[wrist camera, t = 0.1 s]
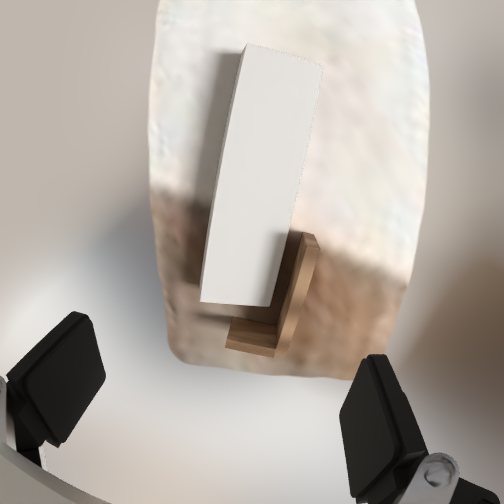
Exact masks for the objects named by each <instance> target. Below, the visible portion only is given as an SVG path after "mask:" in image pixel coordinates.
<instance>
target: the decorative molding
mask: <svg viewBox="0 0 504 504" xmlns="http://www.w3.org/2000/svg"><path fill="white" fill-rule="evenodd" d="M323 67H324V65H322V64H319V63H316V62H313V61H310V60H307V59H304V58H301V57H297V56H294V55H291V54H287V53H284V52H280V51H276V50H273V49H269V48H265V47H261V46H256V45H252V44H246V46H245V48H244V50H243V51H242V54H241V58H240V63H239V67H238V71H237V76H236V80H235V84H234V89H233V94H232V98H231V103H230V108H229V112H228V117H227V122H226V127H225V132H224V137H223V142H222V148H221V153H220V158H219V164H218V169H217V175H216V181H215V186H214V192H213V198H212V204H211V210H210V217H209V223H208V230H207V236H206V243H205V250H204V257H203V264H202V272H201V279H200V287H199V290H200V302H210V303H222V304H236V305H250V306H266V307H270V303H271V299H272V295H273V291H274V288H275V284H276V280H277V276H278V272H279V268H280V264H281V260H282V256H283V252H284V248H285V244H286V239H287V235H288V231H289V227H290V223H291V219H292V214H293V210H294V206H295V201H296V197H297V193H298V188H299V184H300V179H301V175H302V170H303V166H304V161H305V157H306V152H307V147H308V143H309V138H310V133H311V128H312V124H313V119H314V114H315V109H316V104H317V99H318V94H319V88H320V83H321V78H322V73H323Z"/></svg>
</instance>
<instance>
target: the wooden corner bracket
mask: <svg viewBox="0 0 504 504" xmlns="http://www.w3.org/2000/svg"><path fill="white" fill-rule="evenodd" d="M319 251H320V247H319V245H318V243H317V240H316V238H315V236H314V235H313V234H309V233H304V232H303V233H302V237H301V241H300V245H299V249H298V252H297V256H296V260H295V263H294V267H293V271H292V274H291V278H290V282H289V285H288V289H287V292H286V296H285V299H284V303H283V306H282V309H281V313H280V316H279V320H278V323H277V326H275V325H270V324H265V323H260V322H256V321H251V320H246V319H242V318H237V317H233V318H232V322H231V325H230V329H229V333H228V336H227V340H226V346H225V348H229V349H233V350H238V351H243V352H247V353H252V354H257V355H262V356H268V357H274V355H280V356H286V353H287V350H288V348H289V345H290V342H291V339H292V336H293V333H294V330H295V327H296V324H297V321H298V319H299V315H300V312H301V309H302V306H303V303H304V300H305V297H306V294H307V291H308V288H309V284H310V281H311V278H312V275H313V271H314V268H315V265H316V261H317V258H318V255H319Z"/></svg>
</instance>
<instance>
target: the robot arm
mask: <svg viewBox="0 0 504 504" xmlns="http://www.w3.org/2000/svg"><path fill="white" fill-rule="evenodd" d="M6 376H7V378H8V380H9V381H8V382H7V383H6V382H5V380H4V378H2V377H1V376H0V504H110V503H108V502H106V501H103V500H101V499H99V498H96V497H94V496H92V495H90V494H88V493H86V492H84V491H82V490H80V489H78V488H76V487H73V486H72V485H70V484H68V483H66V482H64V481H62V480H61V479H59V478H57V477H56V476H54V475H52V474H50V473H49V472H48V467H47V462H46V457H45V452H44V447H43V443H44V441H45V440H46V441H47V442H48V443H50V444H52V445H54V446H55V447H57V448H58V447H59V446H60V444H61V443H64V442H65V441H66V440H67V438H68V437H69V435H70V434H71V432H72V430H73V429H74V427H75V426H76V424H77V423H78V421H79V419H80V418H81V416H82V415H83V413H84V412H85V410H86V409H87V407H88V406H89V404H90V403H91V401H92V400H93V398H94V396H95V395H96V393H97V392H98V391H99V389H100V388H101V386H102V385H103V383H104V381H105V378H106V373H105V370H104V366H103V363H102V360H101V356H100V352H99V349H98V345H97V340H96V336H95V332H94V328H93V323H92V321H91V320H90V319H89V317H88V315H86V314H83V313H79V312H76V311H73V312H71V313H70V314H69V315H68V316H67V317H66V318H64V319H63V320H62V321H61V322H60V323H59V324H58V325H57V326H56V327H55V328H53V329H52V330H51V331H50V332H49V333H48V334H47V335H46V336H45V337H44V338H43V339H42V340H41V341H40V342H39V343H37V344H36V345H35V347H33V348H32V349H31V350H30V351H29V352H28V353H27V354H26V355H25V356H24V357H23V358H22V359H21V360H20V361H19V362H18V363H17V364H16V365H15V366H14V367H13V368H12V369H11V370H10V371H9V372H8V373H7V375H6ZM339 419H340V425H341V431H342V438H343V444H344V450H345V457H346V464H347V470H348V478H349V486H350V494H351V496H352V497H353V498H356V504H362V503H368V504H500V501H499V498H498V497H497V495H496V494H495V493H493V492H491V491H489V490H487V489H484V488H482V487H480V486H477V485H475V484H473V483H471V482H468V481H466V480H464V479H462V478H460V477H459V474H460V472H459V466H458V464H457V462H456V461H455V460H454V459H453V458H452V457H450V456H449V455H447V454H445V453H433V454H430V455H429V453H428V450H427V448H426V445H425V442H424V439H423V437H422V435H421V431H420V429H419V426H418V424H417V421H416V419H415V416H414V414H413V411H412V409H411V406H410V404H409V402H408V399H407V397H406V395H405V393H404V392H403V391H402V389H401V387H400V385H399V382H398V380H397V378H396V375H395V373H394V371H393V369H392V366H391V364H390V362H389V360H388V358H387V356H386V355H385V354H370V355H368V356H367V358H366V359H362V361H361V363H360V366H359V368H358V371H357V373H356V376H355V378H354V380H353V383H352V385H351V388H350V390H349V392H348V395H347V397H346V399H345V401H344V403H343V406H342V408H341V410H340V415H339Z"/></svg>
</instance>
